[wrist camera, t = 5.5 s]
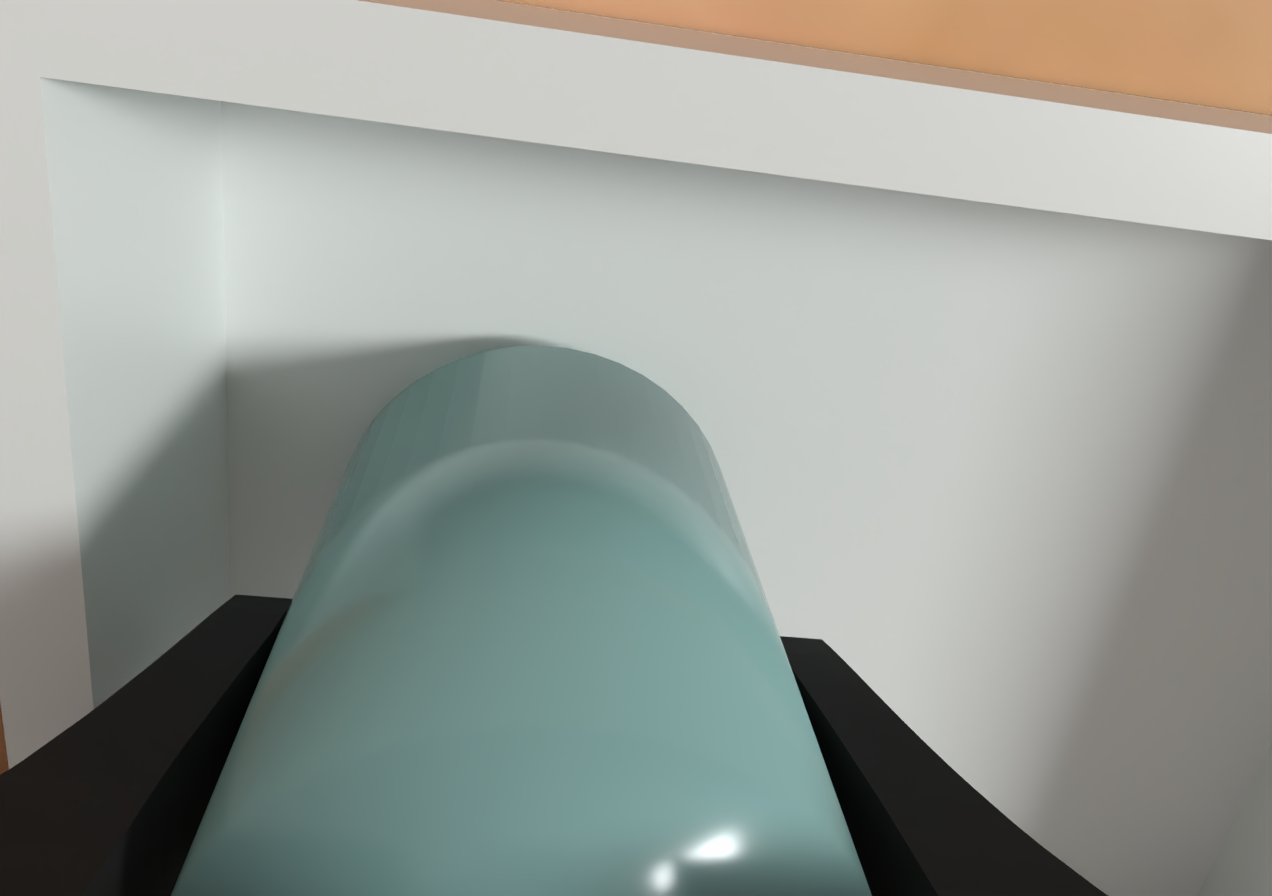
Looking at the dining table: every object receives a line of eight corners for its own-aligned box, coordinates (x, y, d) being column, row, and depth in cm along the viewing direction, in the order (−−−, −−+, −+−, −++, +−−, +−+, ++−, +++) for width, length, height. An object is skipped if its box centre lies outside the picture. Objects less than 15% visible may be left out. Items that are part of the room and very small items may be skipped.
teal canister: (656, 720, 15) (738, 1273, 9) (302, 643, 14) (98, 1202, 8) (784, 408, 13) (1011, 815, 7) (388, 294, 12) (211, 644, 6)
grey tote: (1197, 916, 19) (1400, 1210, 15) (195, 872, 17) (64, 1201, 12) (1565, 159, 14) (2072, 251, 9) (158, -51, 11) (-99, -67, 7)
